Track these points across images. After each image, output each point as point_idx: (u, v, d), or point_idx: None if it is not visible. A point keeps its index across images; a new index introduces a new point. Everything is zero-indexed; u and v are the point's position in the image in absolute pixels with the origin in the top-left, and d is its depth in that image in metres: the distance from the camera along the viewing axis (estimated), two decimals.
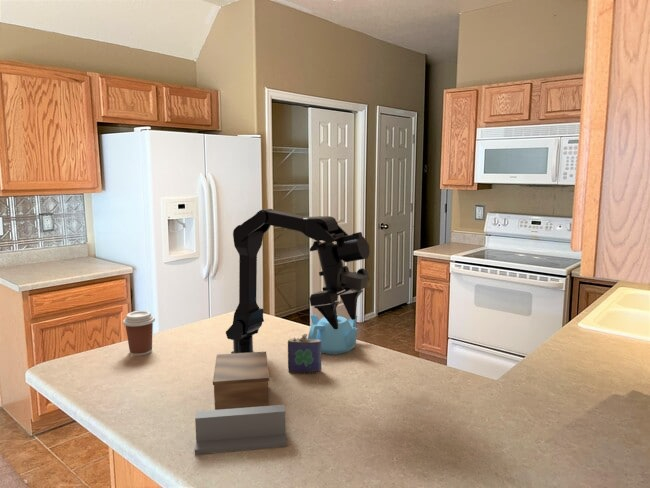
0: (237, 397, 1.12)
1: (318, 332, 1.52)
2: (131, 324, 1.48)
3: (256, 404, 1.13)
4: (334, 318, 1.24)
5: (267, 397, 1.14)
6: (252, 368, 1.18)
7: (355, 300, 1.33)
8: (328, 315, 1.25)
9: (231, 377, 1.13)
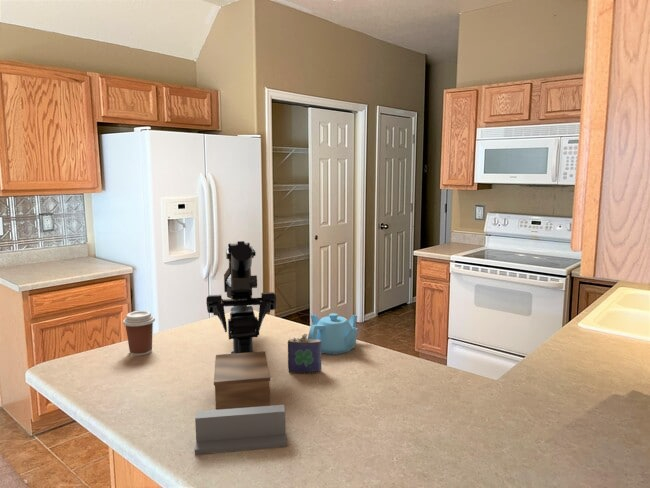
0: (238, 397, 1.12)
1: (318, 332, 1.52)
2: (131, 324, 1.48)
3: (257, 404, 1.14)
4: (221, 320, 1.34)
5: (268, 397, 1.14)
6: (252, 368, 1.18)
7: (261, 311, 1.36)
8: (221, 319, 1.36)
9: (232, 377, 1.13)
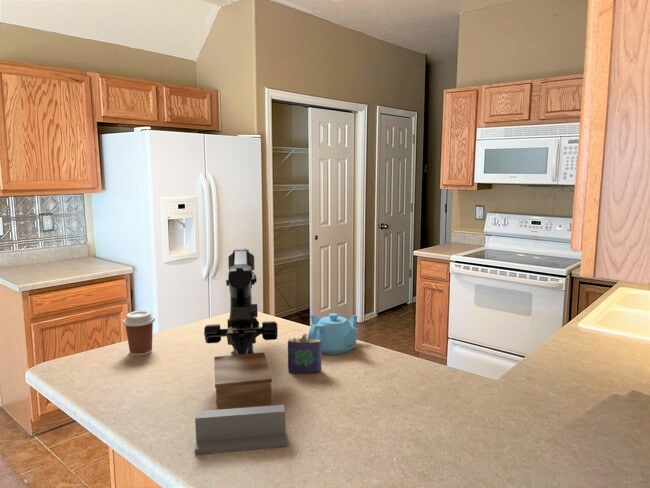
0: (239, 399, 1.11)
1: (318, 332, 1.52)
2: (131, 324, 1.48)
3: (258, 406, 1.12)
4: (236, 350, 1.28)
5: (270, 398, 1.13)
6: (252, 369, 1.17)
7: (245, 342, 1.29)
8: (236, 349, 1.29)
9: (233, 379, 1.11)
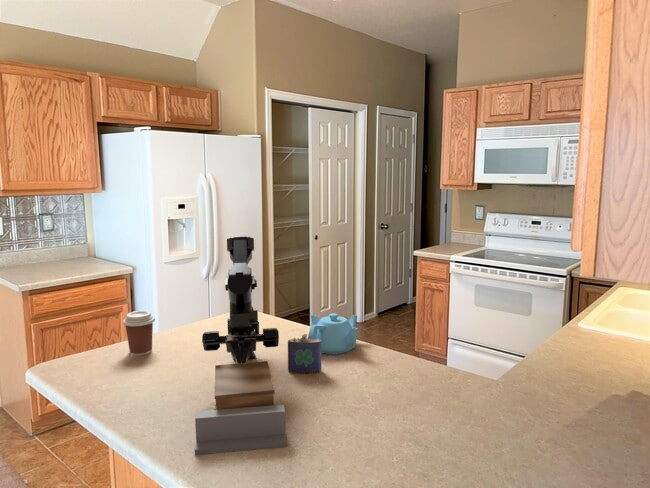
0: None
1: (318, 332, 1.52)
2: (131, 324, 1.48)
3: None
4: (236, 359, 1.22)
5: None
6: (254, 380, 1.11)
7: (245, 350, 1.23)
8: (235, 357, 1.24)
9: (234, 390, 1.06)
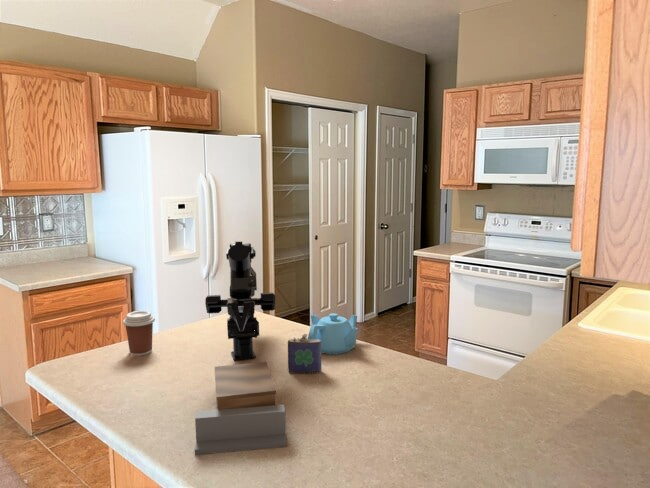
0: None
1: (318, 332, 1.52)
2: (131, 324, 1.48)
3: None
4: (236, 319, 1.34)
5: None
6: (255, 380, 1.11)
7: (244, 312, 1.35)
8: (236, 319, 1.36)
9: (235, 391, 1.06)
